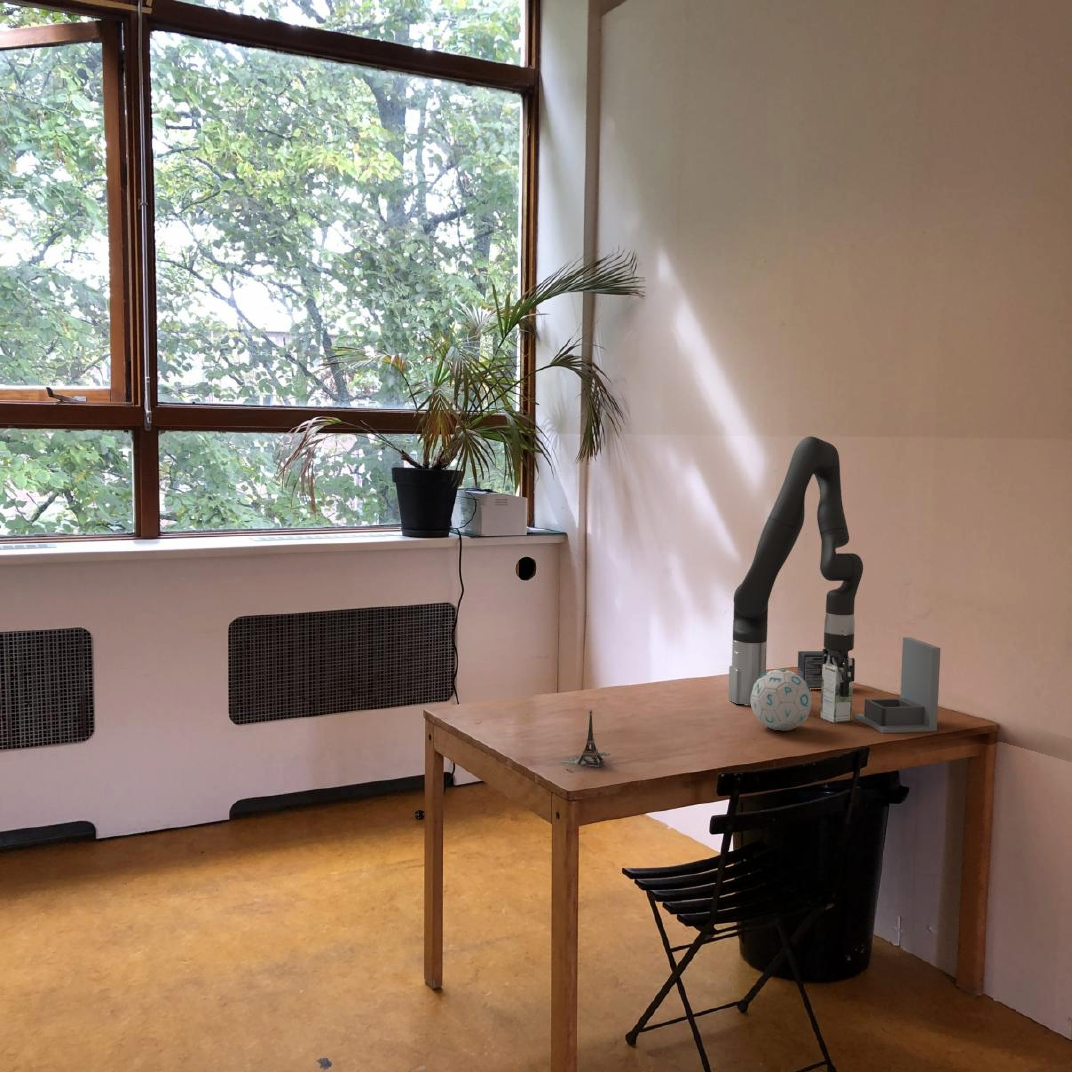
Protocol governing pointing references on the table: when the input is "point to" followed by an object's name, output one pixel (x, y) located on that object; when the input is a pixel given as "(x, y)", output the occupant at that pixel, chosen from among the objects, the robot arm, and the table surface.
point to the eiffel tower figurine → (587, 752)
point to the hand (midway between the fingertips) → (836, 692)
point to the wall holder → (909, 693)
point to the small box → (810, 667)
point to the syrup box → (834, 696)
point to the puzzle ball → (781, 700)
